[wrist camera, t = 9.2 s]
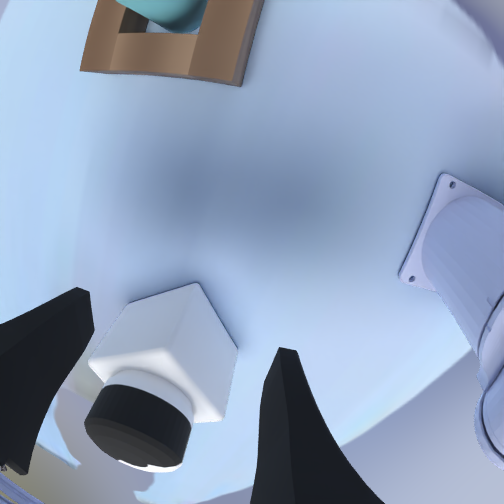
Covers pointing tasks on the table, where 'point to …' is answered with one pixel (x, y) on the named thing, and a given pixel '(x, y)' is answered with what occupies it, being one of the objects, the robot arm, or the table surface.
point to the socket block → (173, 43)
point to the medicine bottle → (160, 378)
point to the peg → (170, 13)
